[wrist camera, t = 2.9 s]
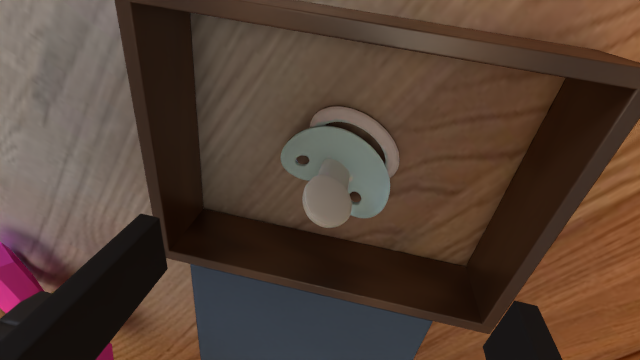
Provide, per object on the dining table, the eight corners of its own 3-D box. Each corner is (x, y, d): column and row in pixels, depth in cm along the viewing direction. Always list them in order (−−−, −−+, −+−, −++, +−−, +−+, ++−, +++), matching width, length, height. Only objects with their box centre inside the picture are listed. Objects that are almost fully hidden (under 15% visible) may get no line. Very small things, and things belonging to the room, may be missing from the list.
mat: (202, 357, 38) (200, 360, 38) (192, 261, 30) (190, 264, 30) (387, 404, 37) (387, 408, 36) (432, 317, 28) (432, 321, 28)
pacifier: (330, 81, 20) (278, 151, 22) (312, 113, 14) (247, 201, 17) (421, 152, 21) (361, 210, 24) (436, 206, 15) (356, 273, 18)
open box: (195, 214, 27) (159, 256, 23) (174, -20, 18) (109, -22, 14) (472, 276, 25) (490, 334, 21) (598, 50, 16) (673, 72, 12)
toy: (32, 202, 31) (-127, 276, 24) (151, 350, 31) (22, 462, 24) (52, 230, 39) (-64, 291, 32) (147, 348, 39) (48, 432, 32)
